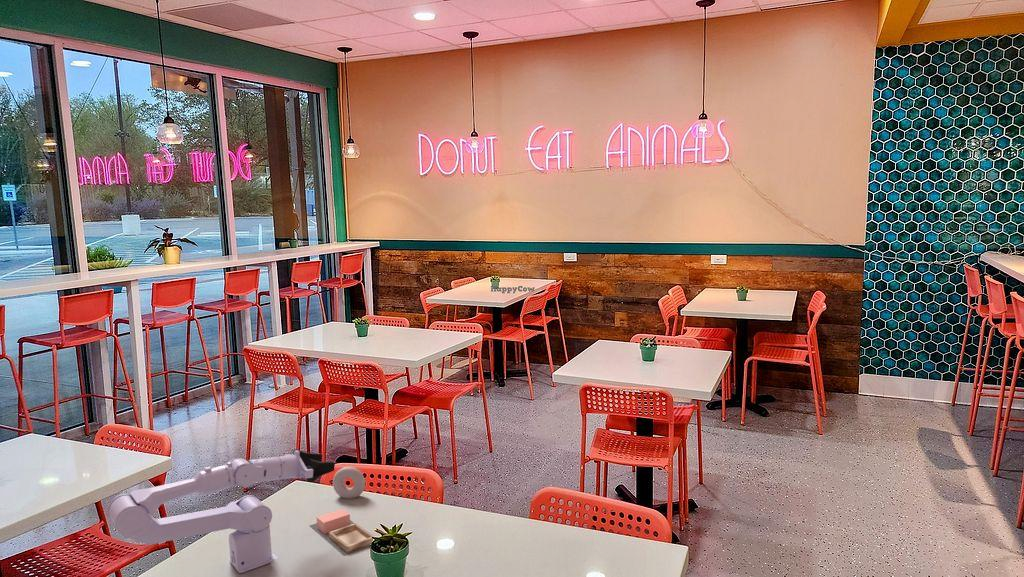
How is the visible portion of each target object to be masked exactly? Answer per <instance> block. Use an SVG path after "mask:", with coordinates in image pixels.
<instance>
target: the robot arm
mask: <svg viewBox="0 0 1024 577" xmlns="http://www.w3.org/2000/svg"><path fill="white" fill-rule="evenodd" d="M225 463H226V464H222V465H218V466H216V467H212V466H206V467H203V470H200V471H198V472H197V473H196V475H194V477H192V478H188V479H184V480H180V481H175V482H171V483H167V484H161V485H157V486H152V487H147V488H141V489H135V490H132V491H129V493H122V494H118V495H117V496H115V497H114V498H112V500H110V502H109V504H108V506H107V511H106V512H107V516H108V517H109V518H110V520H111V521H112V523H113V524H114V527H115V530H117V532H118V533H119V534H120V535H121V536H122V537H123V538H124V539H126V540H127V539H130V540H134V541H136V542H140V543H142V544H144V545H154V544H159V543H164V542H169V541H175V540H179V539H185V538H189V537H193V536H199V535H204V534H205V535H206V534H209V533H215V532H218V531H223V530H229V529H231V530H235V531H233V532H231V533H229V536H228V545H229V557H230V560H229V563H230V564H231V565H232V566H233V568H235V570H236V571H237V572H238V573H239V574H243V573H246V572H249V571H252V570H254V569H256V568H261V567H263V566H265V565H268V564H270V563H272V562H273V561H276V560H278V559H279V557H277V555H276V554H275V553H274V552H272V538H271V525H270V524H271V521H272V520H273V512H272V509H271V508H270V507H269V506H267V505H265V504H264V503H263V502H261V501H260V500H259V498H258V497H257V496H256V495H253V494H252V495H251V494H249V495H248V494H247V495H245V496H242V497H241V498H240V499H238V500H234V501H230V502H229V503H228V504H227V505H225V506H222V507H215V508H209V509H206V510H205V509H204V510H201V511H200V510H199V511H194V512H188V513H182V514H178V515H173V516H165V517H160V518H154V515H155V514H156V512H157V511H158V509H159V508H160V506H161V505H163V504H166V503H169V502H173V501H175V500H178V499H181V498H185V497H187V496H190V495H192V494H196V493H197V494H199V495H202V496H206V495H210V494H213V493H217V492H221V491H224V490H228V489H231V488H233V487H235V486H236V487H241V488H244V489H246V488H249V487H251V486H253V484H255V483H262V482H269V481H270V482H271V481H279V480H287V479H300V478H304V479H306V481H307V482H309V483H314V482H315V481H316V480H317V479H319V478H320V477H322V476H324V475H326V474H330V473H332V472H335V466H336V463H335V462H333V461H323V454H320V453H315V452H307V451H302V450H300V449H297V448H295V449H294V450H293V453H292V454H291V453H287V454H283V455H280V456H271V457H263V458H256V459H248V461H247V459H244V458H241V457H236V458H234V457H233V458H231V460H229V461H227V462H225Z"/></svg>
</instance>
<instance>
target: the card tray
mask: <svg viewBox="0 0 1024 577" xmlns="http://www.w3.org/2000/svg"><path fill="white" fill-rule="evenodd" d="M353 523H354V524H351V525H348V526H346V527H343V528H340V529H337V530H334V531H331V532H329V538H330V539H331V540H332V541H333V542H334V543H336V544H337V545H338V546H339V547H340V548H341V549H343V550H344V551H345V552H346V553H349V552H352V551H354V550H357V549H360V548H363V547H365V546H368V545H370V544H371V543H372V541H373V539H372V537H374V538H375V536H374V535H372V534H371V533H370V532H369V531H367V530H366V529H364V528H363V527H362V526H361V525H360V524H358V523H356V522H353ZM375 539H376V538H375Z"/></svg>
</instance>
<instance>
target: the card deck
mask: <svg viewBox="0 0 1024 577" xmlns="http://www.w3.org/2000/svg"><path fill="white" fill-rule="evenodd" d="M350 520H351V514H350V513H348V511H346V510H345V509H343V508H341V509H338V510H335V511H332V512H329V513H325V514H322V515H319V516H317V517H316V523H317V528H318V529H319V530H321V531H322V532H323V533H327V532H330V531H333V530H336V529H339V528H342V527H345V526H348V525H350Z"/></svg>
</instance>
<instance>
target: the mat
mask: <svg viewBox="0 0 1024 577" xmlns="http://www.w3.org/2000/svg"><path fill="white" fill-rule="evenodd" d="M354 523H355V522H353V521H352V520H351V519H350V525H351V524H354ZM309 527H310V528H311V529H312V530H313V531H315V532H316V533H317V534H318V535H319V536H320V537H321V538H323V539H324V540H325V541H326V542H327V543H329V544H330V545H331V546H332V547H333V548H334V549H336V551H338V552H339V553H340V554H341V555H343V556H345V557H346V556H347V555H350V554H353V553H355V552H358V551H360V550H363V549H366V548H369V547H371V546H370V545H368V546H365V547H363V548H360V549H357V550H354V551H352V552H349V553H346V552H345V551H344V550H343V549H341V548H340V547H339V546H338V545H337V544H336V543H334V542H333V541H332V540H331V539H330V538H329V532H327V533H323V532H322V531H321V530H319V529H318V528H317V522H316V523H313V524H310V525H309ZM345 527H346V526H345ZM342 528H343V527H342ZM339 529H340V528H339ZM336 530H337V529H336ZM333 531H334V530H333ZM330 532H331V531H330Z"/></svg>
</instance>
